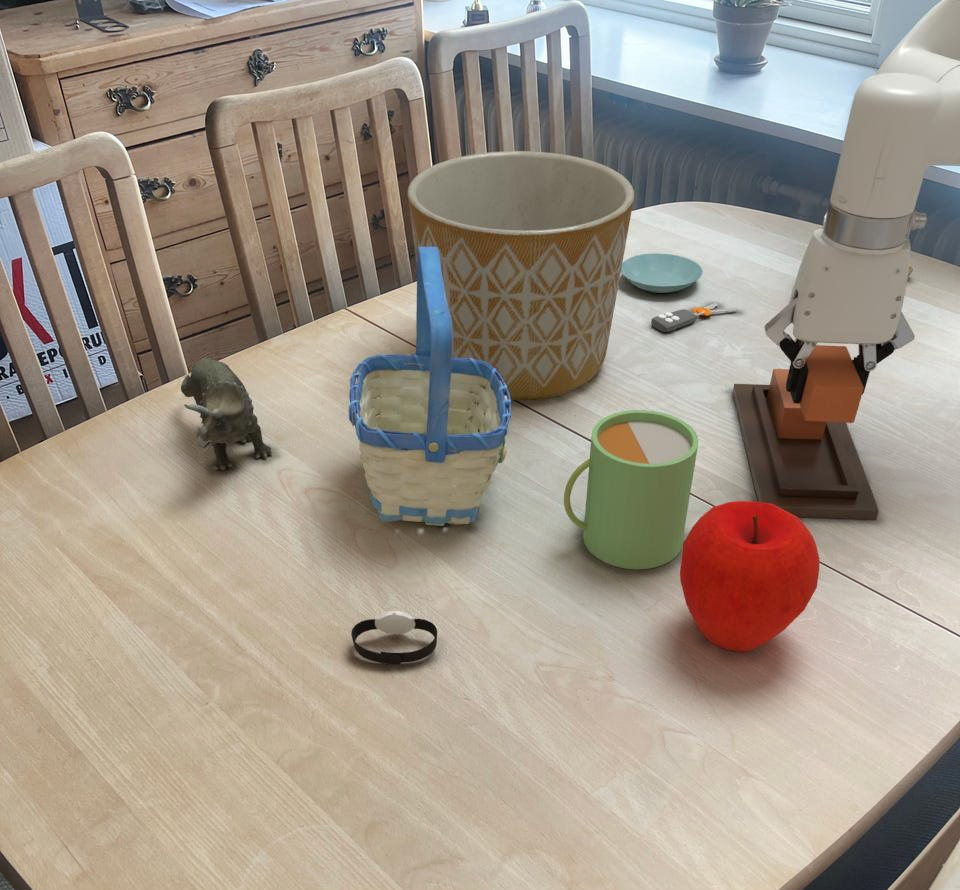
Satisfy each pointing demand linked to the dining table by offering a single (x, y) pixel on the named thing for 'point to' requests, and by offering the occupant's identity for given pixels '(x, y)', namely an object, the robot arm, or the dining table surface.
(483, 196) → the planter
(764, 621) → the apple
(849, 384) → the block
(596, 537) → the mug
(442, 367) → the basket
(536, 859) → the dining table surface
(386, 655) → the watch
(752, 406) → the board
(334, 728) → the dining table surface
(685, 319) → the key chain
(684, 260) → the saucer
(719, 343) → the dining table surface
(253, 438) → the toy dinosaur
